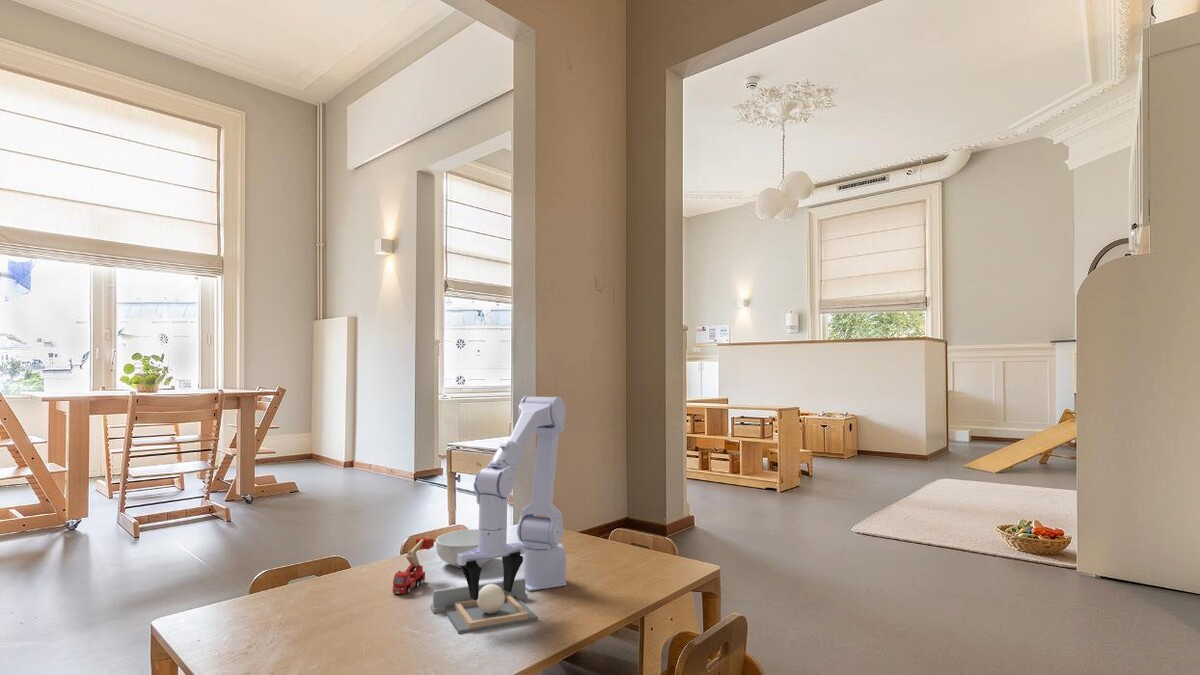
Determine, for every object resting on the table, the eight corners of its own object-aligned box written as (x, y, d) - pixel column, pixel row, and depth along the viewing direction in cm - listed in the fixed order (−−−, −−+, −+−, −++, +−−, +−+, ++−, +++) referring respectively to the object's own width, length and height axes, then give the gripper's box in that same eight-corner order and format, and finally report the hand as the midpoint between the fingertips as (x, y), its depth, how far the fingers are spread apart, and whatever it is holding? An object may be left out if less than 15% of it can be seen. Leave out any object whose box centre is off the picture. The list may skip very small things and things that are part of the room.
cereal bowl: (471, 551, 173) (471, 525, 173) (514, 562, 163) (515, 535, 163) (421, 565, 159) (422, 537, 159) (465, 579, 149) (466, 549, 150)
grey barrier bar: (522, 594, 139) (523, 576, 139) (527, 598, 136) (527, 580, 137) (430, 608, 130) (431, 588, 130) (433, 613, 127) (434, 593, 128)
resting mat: (517, 600, 135) (518, 592, 136) (537, 620, 125) (537, 611, 125) (444, 611, 128) (444, 603, 128) (458, 633, 118) (458, 625, 118)
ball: (496, 605, 130) (496, 578, 131) (509, 614, 126) (510, 585, 126) (471, 611, 127) (472, 583, 127) (484, 620, 123) (485, 591, 123)
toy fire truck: (390, 595, 137) (392, 550, 138) (420, 575, 151) (421, 535, 151) (404, 596, 137) (406, 551, 137) (433, 577, 150) (434, 536, 151)
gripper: (513, 518, 135) (512, 582, 134) (451, 528, 126) (449, 596, 126) (530, 525, 130) (529, 591, 129) (466, 535, 121) (465, 606, 120)
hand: (491, 594), depth 127 cm, fingers open, 7 cm apart
